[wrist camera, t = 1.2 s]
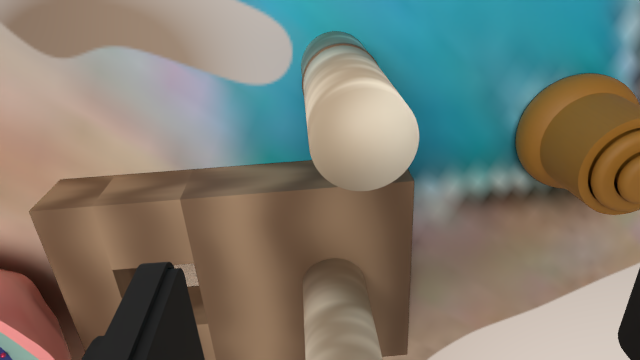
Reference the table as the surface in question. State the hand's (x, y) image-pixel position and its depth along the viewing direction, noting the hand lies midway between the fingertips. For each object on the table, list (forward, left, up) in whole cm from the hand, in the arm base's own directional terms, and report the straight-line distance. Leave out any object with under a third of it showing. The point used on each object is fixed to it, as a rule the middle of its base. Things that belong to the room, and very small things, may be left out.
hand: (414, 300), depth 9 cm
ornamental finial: (-15, +5, -20) cm, 26 cm away
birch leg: (0, 0, -20) cm, 20 cm away
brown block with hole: (+7, +13, -20) cm, 25 cm away
